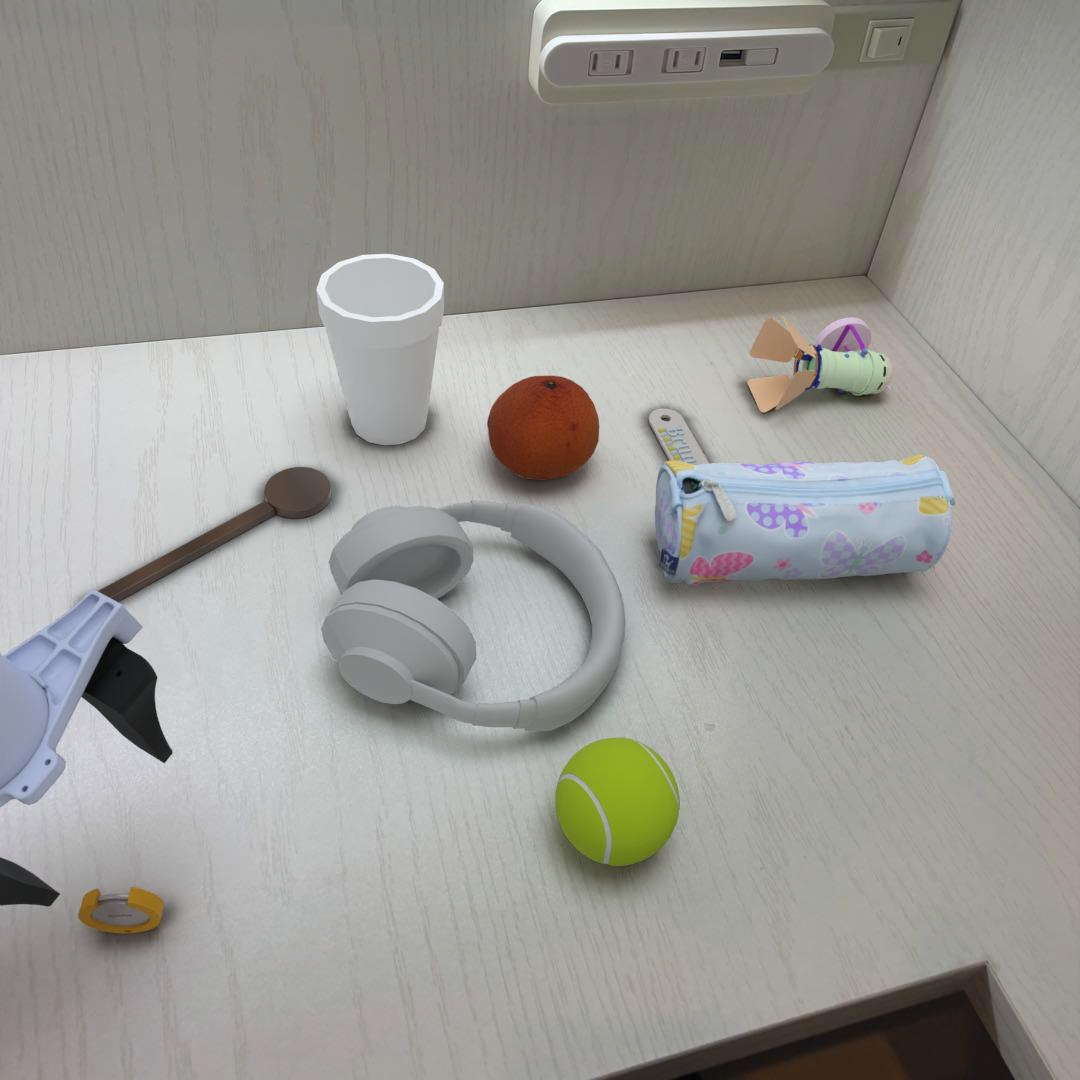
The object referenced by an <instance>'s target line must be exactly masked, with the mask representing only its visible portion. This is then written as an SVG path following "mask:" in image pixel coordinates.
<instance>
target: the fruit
mask: <svg viewBox="0 0 1080 1080" xmlns="http://www.w3.org/2000/svg"><path fill="white" fill-rule="evenodd" d="M486 425H487V431H488V433H487V434H488V440H489V446H490V449H491V451H492V453H493V454H494V456H495V458H496V460H497V461H498V462H499V463H500V464H501V465H503V467H505V468H506V469H508V470H509V471H510V472H511V473H513V474H514V475H516V476H518V477H521V478H523V479H529V480H538V481H540V480H541V481H543V480H544V481H545V480H552V479H553V480H554V479H559V478H565V477H567V476H569V475H572V474H573V473H575V472H577V471H578V470H579V469H581V468H582V467H583V466H584V465H585V464H587V463H588V462H589V461H590V459H591V458H592V456H593V455H594V453H595V451H596V449H597V447H598V445H599V444H598V443H599V442H600V441H599V440H600V420H599V414H598V411H597V409H596V406H595V403H594V401H593V399H592V398H591V397H590V395H589V394H588V392H587V391H586V390H585V389H584V388H583V387H582V386H581V385H579V384H578V383H577V382H575V381H574V380H572V379H569V378H567V377H563V376H559V375H533V376H529V377H525V378H522V379H521V380H519V381H516V382H515V383H513V384H511V386H509V387H508V388H506V389H505V390H504V391H503V392H502V393H501V394H500V395H499V396H498V397H497V398H496V400H495V401H494V403H493V405H491V408H490V410H489V415H488V417H487V421H486Z"/></svg>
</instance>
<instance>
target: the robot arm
mask: <svg viewBox="0 0 1080 1080" xmlns="http://www.w3.org/2000/svg"><path fill="white" fill-rule="evenodd" d="M98 591H99V590H96V589H94V588H92V589H90V590H89V591H88V592H87V593H86V594H85V595H84V596H83V597H82V598H81V599H80V600H79V601H78V602H77V603H75V605H73V606H72V607H71V608H70V609H68V610H67V611H66V612H64V613H63V614H62V615H61V616H59V617H58V618H57V619H55V620H54V621H52V622H51V623H49V624H48V625H46V626H45V627H44V628H42V629H40V630H39V631H37V632H36V633H34V634H32V636H30V637H29V638H27V639H25V640H24V641H22V642H21V643H19V644H18V645H17V646H15V647H14V648H12V649H11V650H9V651H8V652H6V653H4V654H2V652H0V809H1V808H2V807H3V806H5V805H6V804H7V803H9V802H10V801H13V800H17V801H19V802H20V803H22V804H24V805H27V806H31V805H33V804H36V803H38V802H39V801H40V800H41V799H42V798H43V797H44V796H45V795H46V793H47V792H48V791H49V790H50V789H51V788H52V786H53V785H54V784H55V783H56V782H57V780H58V779H59V778H60V777H61V776H62V775H63V773H64V771H65V770H66V764H67V761H66V760H65V758H64V757H63V756H62V755H60V754H59V753H58V752H57V748H58V745H59V743H60V741H61V739H62V737H63V735H64V732H65V730H66V729H67V726H68V724H69V723H70V721H71V719H72V716H73V714H74V712H75V710H76V708H77V706H78V704H79V702H80V701H81V698H82V699H83V700H84V701H86V702H87V703H88V704H90V705H91V707H93V708H94V709H96V710H97V711H98V712H99V713H100V714H101V715H102V716H103V717H104V719H106V721H108V722H109V723H110V724H111V725H112V726H113V728H115V729H116V730H117V732H118V733H119V734H121V736H123V737H124V738H125V739H127V740H128V741H129V742H130V743H132V744H133V745H134V746H136V747H137V748H139V749H140V750H142V751H143V752H145V753H146V754H148V755H150V756H151V757H153V758H155V759H156V760H157V761H160V762H161V763H163V764H166V762H167V761H168V760H169V758H171V756H172V755H173V749H172V747H170V746H171V745H170V744H169V742H168V741H167V738H166V736H165V734H164V731H163V729H162V727H161V724H160V720H159V717H158V711H157V705H156V686H157V682H158V675H157V673H156V671H155V669H154V668H153V666H152V665H151V663H150V662H149V661H148V660H147V659H146V658H145V657H144V656H142V655H140V654H139V653H137V652H135V651H134V650H131V649H129V648H128V647H127V646H126V644H129V643H130V642H131V641H132V640H133V639H134V638H135V637H136V636H137V635H138V633H140V631H141V630H142V629H143V625H142V624H141V622H139V621H138V619H137V618H136V617H134V615H132V613H131V612H130V611H128V609H127V608H126V607H125V606H124V605H123V604H122V603H120V602H119V601H118V602H116V601H115V600H113V599H111V598H109V597H107V596H105V595H103V594H102V593H100V592H98ZM60 894H61V893H60V892H59V891H57V890H55V888H53V887H52V886H50V885H49V884H48V883H47V882H45V881H44V880H43V879H41V878H40V877H39V876H37V875H36V874H35V873H33V872H31V871H30V870H29V869H26V868H25V867H23V866H21V865H20V864H18V863H16V862H14V861H11V860H9V859H6V858H3V857H1V856H0V907H3V906H15V905H31V906H42V907H47V908H48V907H52V905H53V904H54V903H55V901H56V900H57V899H58V897H59V896H60Z"/></svg>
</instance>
